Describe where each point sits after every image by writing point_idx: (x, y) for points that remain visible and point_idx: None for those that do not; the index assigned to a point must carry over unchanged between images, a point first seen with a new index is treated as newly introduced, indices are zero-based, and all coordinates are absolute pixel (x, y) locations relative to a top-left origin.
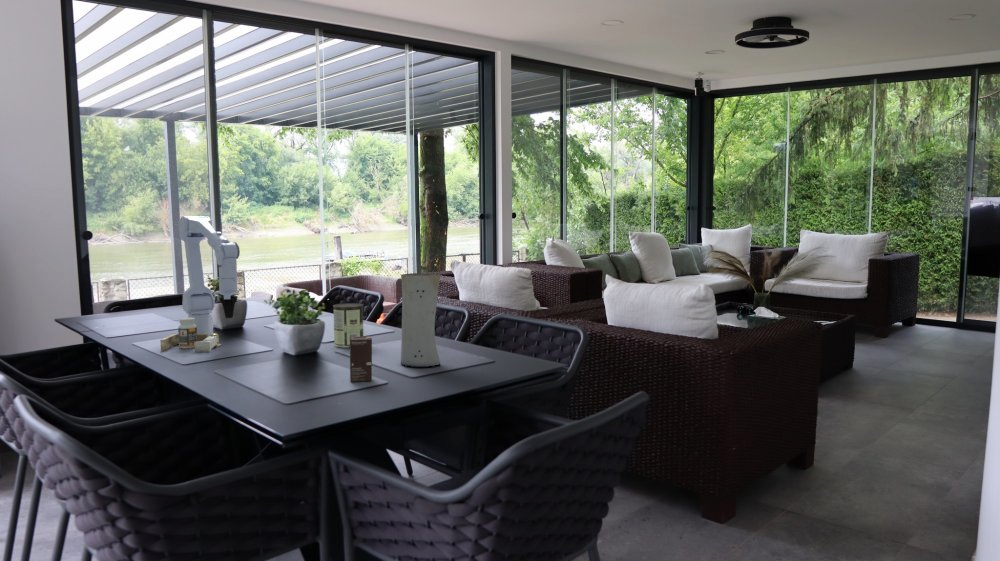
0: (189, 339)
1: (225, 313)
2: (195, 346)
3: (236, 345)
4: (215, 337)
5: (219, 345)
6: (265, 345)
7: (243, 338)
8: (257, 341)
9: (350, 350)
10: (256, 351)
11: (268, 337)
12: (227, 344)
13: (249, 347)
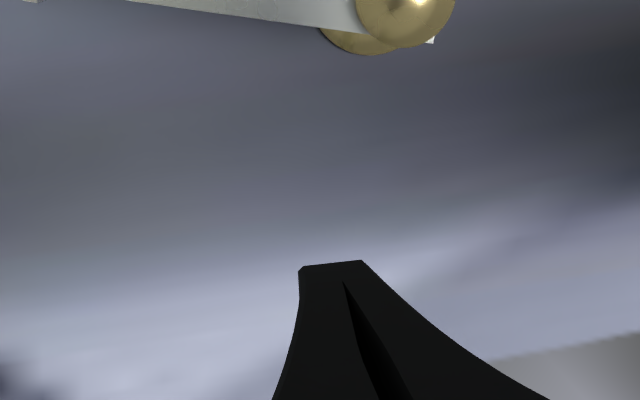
0: None
1: (301, 315)
2: None
3: (321, 186)
4: (311, 24)
5: (334, 43)
6: (276, 373)
7: (614, 192)
8: (449, 303)
9: None
10: (37, 359)
11: (575, 341)
12: (388, 106)
13: (212, 290)
